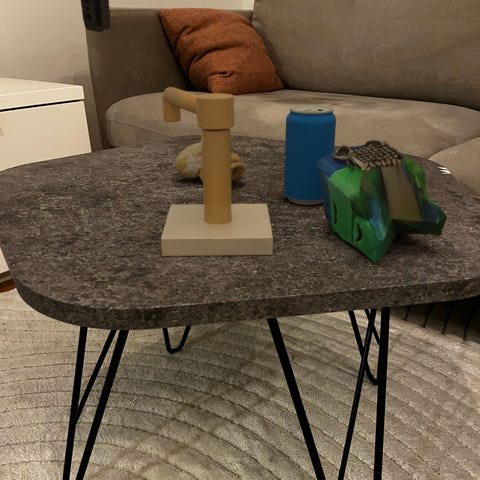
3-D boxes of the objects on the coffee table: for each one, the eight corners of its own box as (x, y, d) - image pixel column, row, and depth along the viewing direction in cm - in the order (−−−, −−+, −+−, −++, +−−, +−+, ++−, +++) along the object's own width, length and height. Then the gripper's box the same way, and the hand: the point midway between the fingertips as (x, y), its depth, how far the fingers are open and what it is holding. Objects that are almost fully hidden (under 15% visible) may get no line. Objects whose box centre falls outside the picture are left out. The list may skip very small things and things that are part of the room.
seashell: (219, 128, 96) (252, 141, 83) (226, 165, 99) (258, 183, 86) (161, 142, 94) (185, 157, 81) (169, 179, 97) (194, 200, 84)
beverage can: (338, 197, 82) (345, 107, 77) (316, 209, 78) (322, 114, 72) (298, 190, 86) (301, 103, 80) (274, 201, 81) (276, 109, 75)
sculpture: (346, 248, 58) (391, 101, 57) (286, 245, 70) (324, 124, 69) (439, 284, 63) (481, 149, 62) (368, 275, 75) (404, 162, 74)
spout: (240, 141, 63) (240, 97, 61) (206, 145, 62) (205, 99, 59) (183, 118, 76) (181, 80, 74) (154, 120, 74) (151, 82, 72)
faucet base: (162, 256, 64) (153, 140, 58) (171, 219, 74) (165, 119, 69) (272, 255, 64) (275, 139, 58) (266, 218, 74) (268, 118, 69)
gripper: (79, -200, 54) (100, 7, 66) (-19, -199, 45) (26, 41, 57) (152, -194, 52) (160, 18, 64) (66, -191, 43) (94, 55, 55)
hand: (97, 28), depth 60 cm, fingers closed
